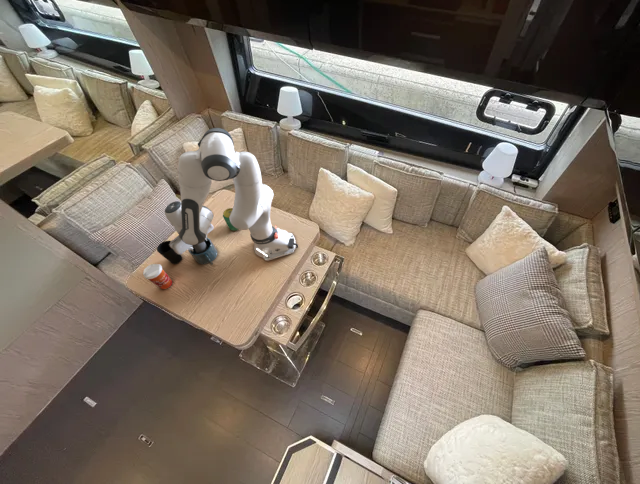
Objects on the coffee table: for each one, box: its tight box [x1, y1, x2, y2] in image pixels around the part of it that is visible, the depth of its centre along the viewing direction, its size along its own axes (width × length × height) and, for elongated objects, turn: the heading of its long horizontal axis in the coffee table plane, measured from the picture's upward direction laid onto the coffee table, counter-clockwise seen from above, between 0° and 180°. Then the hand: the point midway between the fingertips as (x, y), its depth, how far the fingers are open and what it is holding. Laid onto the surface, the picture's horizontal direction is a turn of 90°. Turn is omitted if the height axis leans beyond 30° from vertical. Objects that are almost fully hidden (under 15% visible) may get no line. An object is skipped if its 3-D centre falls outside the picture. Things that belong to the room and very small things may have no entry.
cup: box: [156, 240, 183, 265], centre depth 141 cm, size 8×8×12 cm
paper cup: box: [142, 263, 173, 290], centre depth 131 cm, size 8×8×14 cm
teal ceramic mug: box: [187, 237, 219, 266], centre depth 144 cm, size 15×11×9 cm
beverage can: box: [222, 207, 240, 232], centre depth 157 cm, size 8×8×12 cm
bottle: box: [192, 242, 209, 254], centre depth 140 cm, size 6×6×15 cm
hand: (199, 245), depth 141 cm, fingers closed on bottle, 6 cm apart
